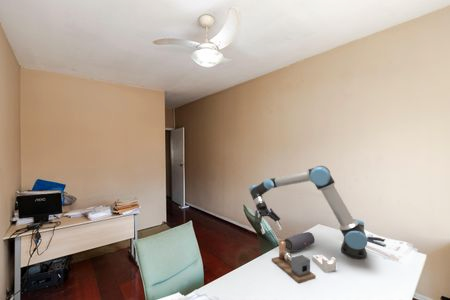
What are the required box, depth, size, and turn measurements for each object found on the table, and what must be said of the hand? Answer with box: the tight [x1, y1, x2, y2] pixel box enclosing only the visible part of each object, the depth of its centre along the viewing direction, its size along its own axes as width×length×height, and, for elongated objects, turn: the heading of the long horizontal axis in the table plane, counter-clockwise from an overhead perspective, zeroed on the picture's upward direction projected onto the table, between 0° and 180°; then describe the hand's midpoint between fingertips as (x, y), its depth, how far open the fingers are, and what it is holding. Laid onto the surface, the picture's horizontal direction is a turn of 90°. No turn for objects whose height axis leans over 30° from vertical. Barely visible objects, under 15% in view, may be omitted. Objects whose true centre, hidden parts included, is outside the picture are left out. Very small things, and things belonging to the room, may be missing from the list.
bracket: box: [311, 254, 337, 274], centre depth 128 cm, size 13×7×8 cm, turn 9°
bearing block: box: [291, 254, 311, 277], centre depth 118 cm, size 6×8×8 cm
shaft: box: [278, 239, 293, 261], centre depth 126 cm, size 17×5×10 cm, turn 23°
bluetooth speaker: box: [283, 231, 316, 252], centre depth 149 cm, size 23×9×10 cm, turn 120°
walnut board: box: [271, 256, 316, 284], centre depth 124 cm, size 24×12×2 cm, turn 23°
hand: (272, 231), depth 142 cm, fingers open, 13 cm apart
